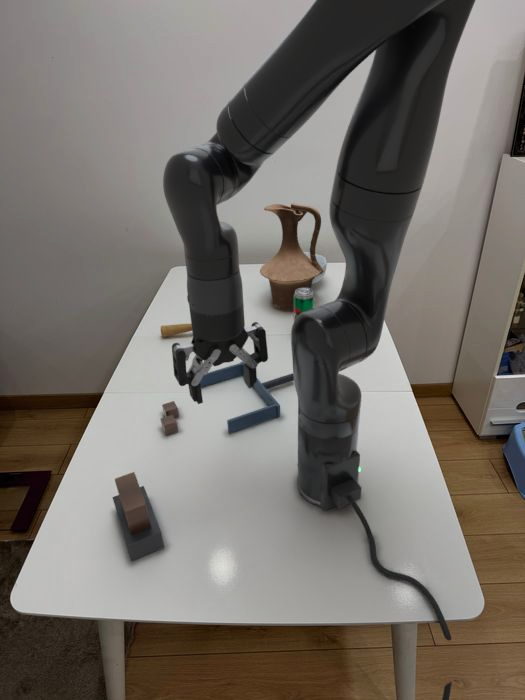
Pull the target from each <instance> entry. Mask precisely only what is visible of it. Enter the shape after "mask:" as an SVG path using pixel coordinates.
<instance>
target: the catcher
mask: <svg viewBox="0 0 525 700" xmlns="http://www.w3.org/2000/svg"><path fill="white" fill-rule="evenodd" d="M243 363H244V362H243V361H240V362H239V363H236V364H232V365H230V366H225V367H221V368H219V369H216V370H213V371H212V370H211V371H208V373H207V374H206V375H204V376H203V378H202V379H201V381H200V382H199V383H200V384H201V389H202V388H206V387H208V386H212V385H215V384H219V383H221V382H224V381H228V380H231V379H234V378H238V377H241V376H243V377H244V365H243ZM291 382H294V377H293V372H292V373H289V374H286V375H282V376H280V377H277V378H273V379H271V380H267V381H264V382H261V381H260V380H259V379H258V378H257V381H256V383H254V387H252V389H254V391H255V392H256V393H257V394H258V396H259V397H260V398H261V399H262V401H263V402H264V404H266V405H267V406H264V407H262V408H259V409H256V410H253V411H250V412H247V413H244V414H241V415H238V416H235V417H233V418H230V419H229V418H228V419H227V420H226V425H227V432H228V434H233V433H236V432H238V431H241V430H244V429H247V428H250V427H253V426H255V425H258V424H261V423H264V422H267V421H270V420H273V419H276V418H277V419H279V418H281V404H280V403H279V402H278V401H277V400H276V399H275V398H274V396H273V395H272V394H271V392H269V390H270V389H273V388H275V387H279V386H282V385H286V384H288V383H291Z"/></svg>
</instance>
